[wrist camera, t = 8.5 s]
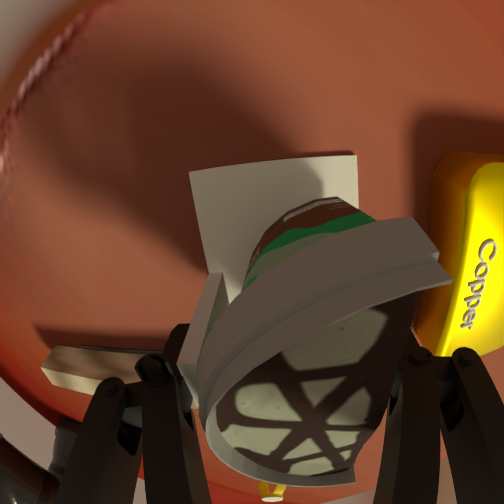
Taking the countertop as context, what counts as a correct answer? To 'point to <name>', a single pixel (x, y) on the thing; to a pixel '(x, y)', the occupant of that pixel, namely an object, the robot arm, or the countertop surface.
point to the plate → (260, 204)
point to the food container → (313, 343)
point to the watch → (276, 493)
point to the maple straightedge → (92, 367)
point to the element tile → (466, 256)
